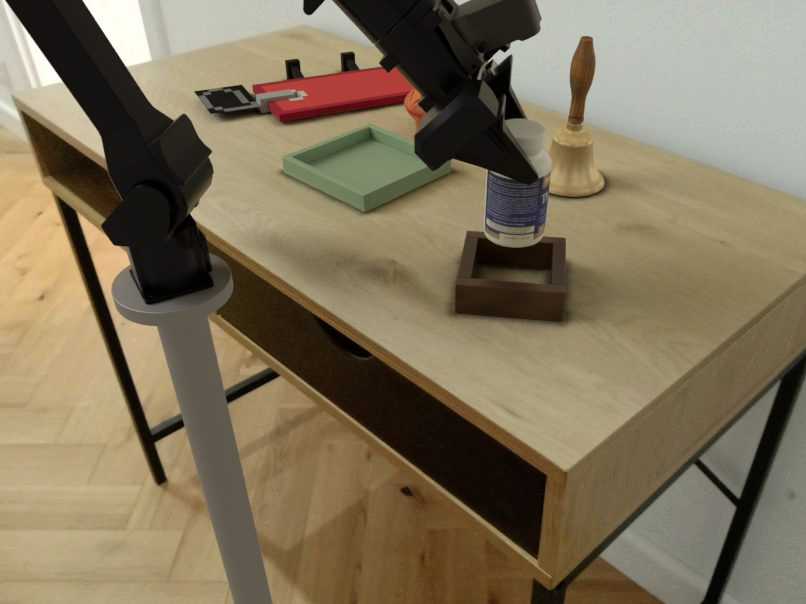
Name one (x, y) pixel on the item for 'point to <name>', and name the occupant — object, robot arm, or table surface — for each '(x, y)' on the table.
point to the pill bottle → (519, 193)
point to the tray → (362, 167)
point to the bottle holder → (507, 294)
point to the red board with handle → (313, 92)
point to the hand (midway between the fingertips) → (535, 165)
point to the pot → (414, 106)
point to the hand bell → (576, 134)
